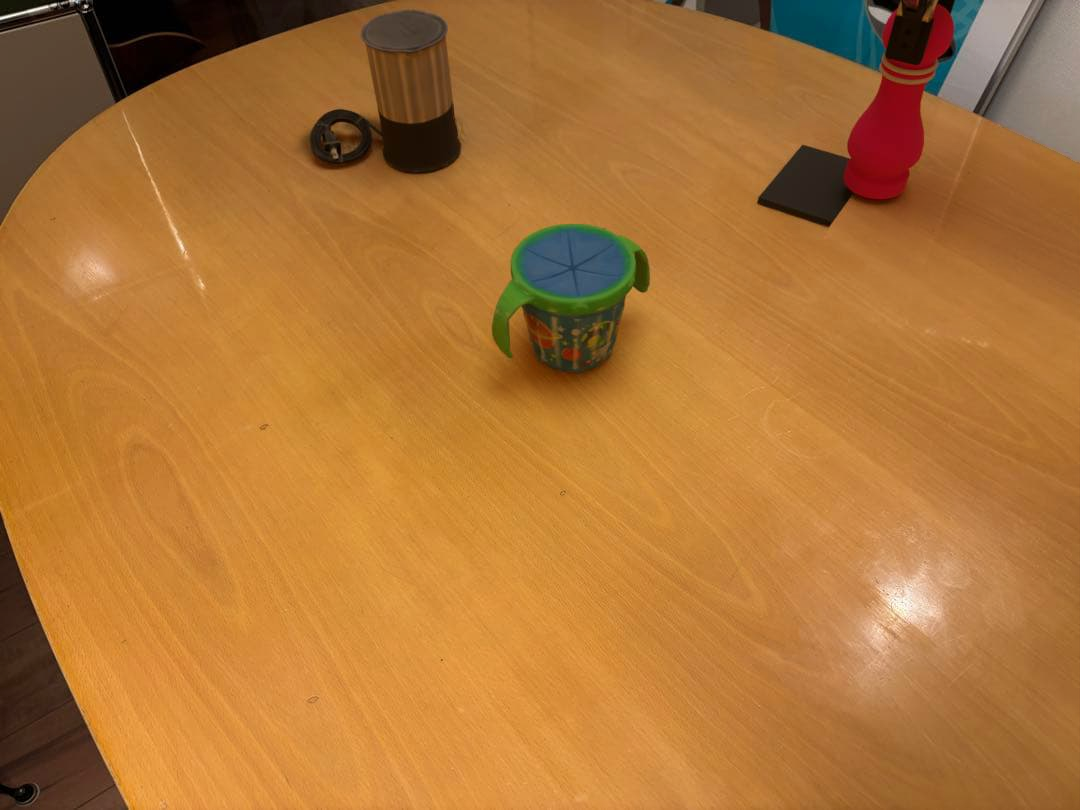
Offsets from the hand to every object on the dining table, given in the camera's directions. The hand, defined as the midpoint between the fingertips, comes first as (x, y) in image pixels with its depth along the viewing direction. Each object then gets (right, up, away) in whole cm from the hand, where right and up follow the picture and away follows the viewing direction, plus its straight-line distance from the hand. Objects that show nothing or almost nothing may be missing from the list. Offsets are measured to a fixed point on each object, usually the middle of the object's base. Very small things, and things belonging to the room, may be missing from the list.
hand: (915, 43), depth 80 cm
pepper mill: (+1, -10, +11) cm, 15 cm away
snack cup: (-31, -28, 0) cm, 42 cm away
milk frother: (-52, -4, +23) cm, 57 cm away
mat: (+1, -12, +13) cm, 18 cm away
